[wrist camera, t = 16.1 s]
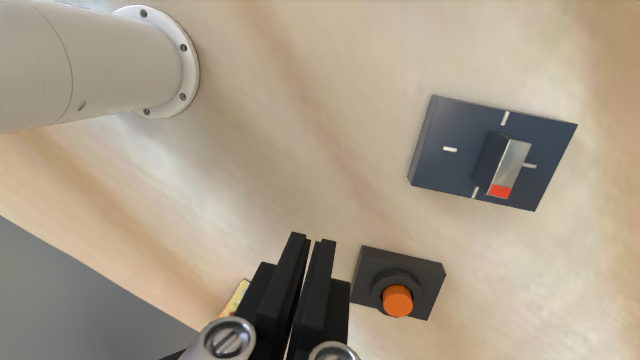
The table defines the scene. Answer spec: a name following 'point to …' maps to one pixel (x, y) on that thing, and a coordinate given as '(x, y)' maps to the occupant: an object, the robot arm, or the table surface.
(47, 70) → the robot arm
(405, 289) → the button
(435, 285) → the button box
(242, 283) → the candy box
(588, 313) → the table surface
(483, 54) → the table surface
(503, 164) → the knob
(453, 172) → the console
